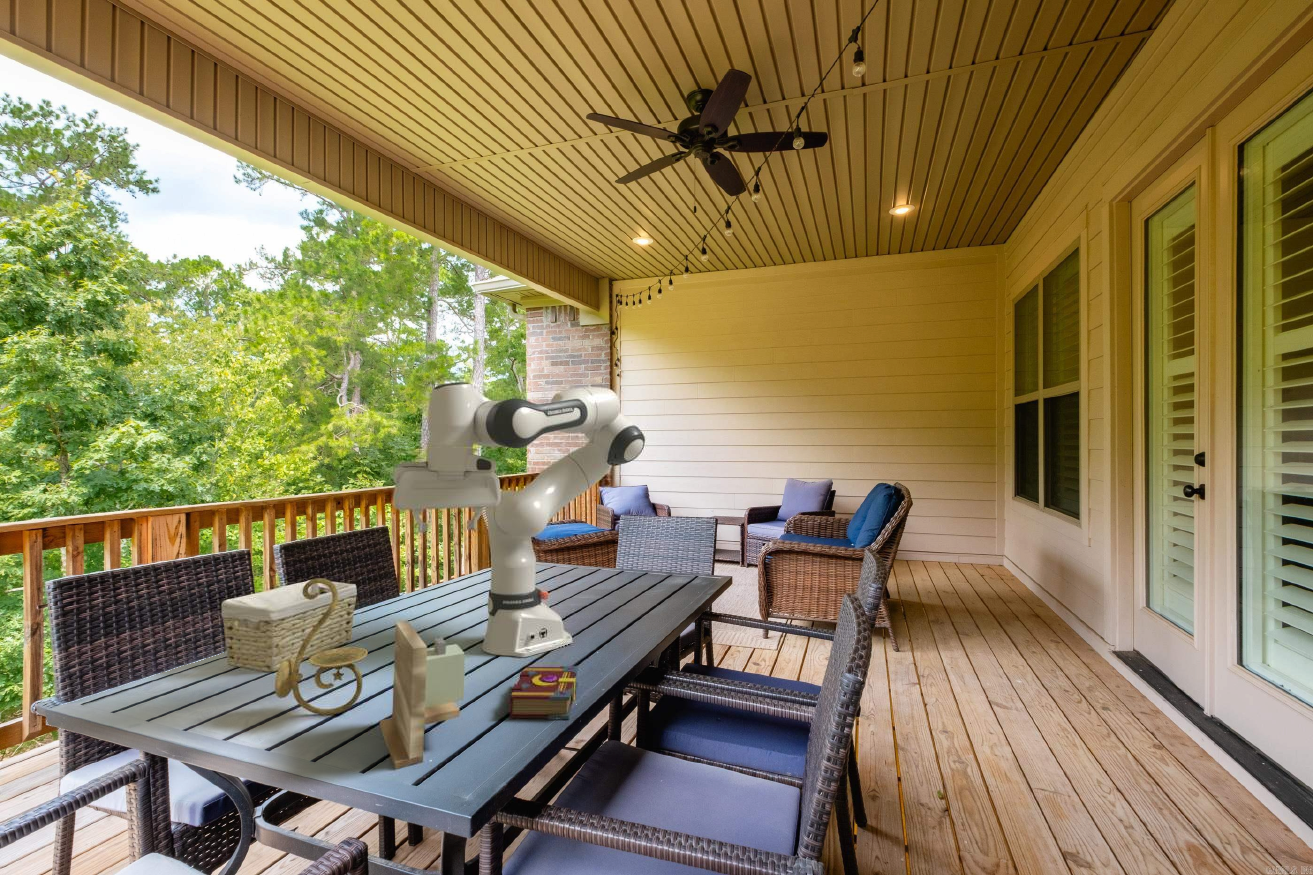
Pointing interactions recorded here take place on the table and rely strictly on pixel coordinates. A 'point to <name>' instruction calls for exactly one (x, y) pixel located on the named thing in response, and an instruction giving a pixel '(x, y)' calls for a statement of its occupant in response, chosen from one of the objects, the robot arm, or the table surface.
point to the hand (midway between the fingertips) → (447, 530)
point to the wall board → (410, 700)
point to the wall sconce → (320, 661)
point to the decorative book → (544, 692)
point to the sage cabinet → (444, 674)
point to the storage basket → (285, 624)
